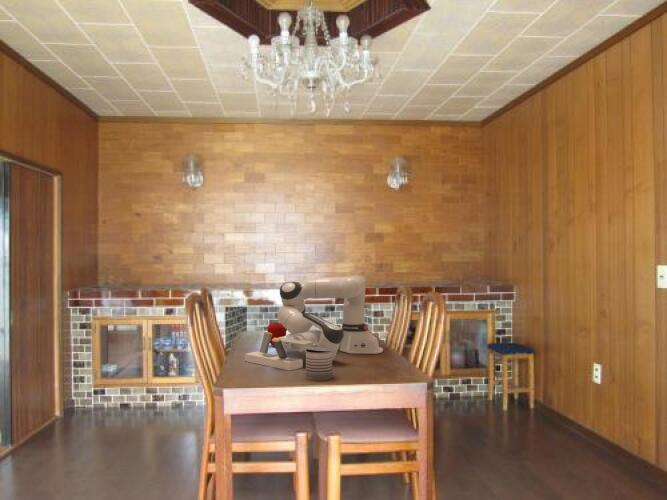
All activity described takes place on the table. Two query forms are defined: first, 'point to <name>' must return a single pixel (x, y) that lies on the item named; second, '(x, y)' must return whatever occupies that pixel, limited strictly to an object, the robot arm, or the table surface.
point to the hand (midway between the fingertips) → (280, 346)
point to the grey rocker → (265, 342)
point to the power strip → (274, 361)
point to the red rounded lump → (276, 331)
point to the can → (318, 363)
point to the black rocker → (279, 348)
